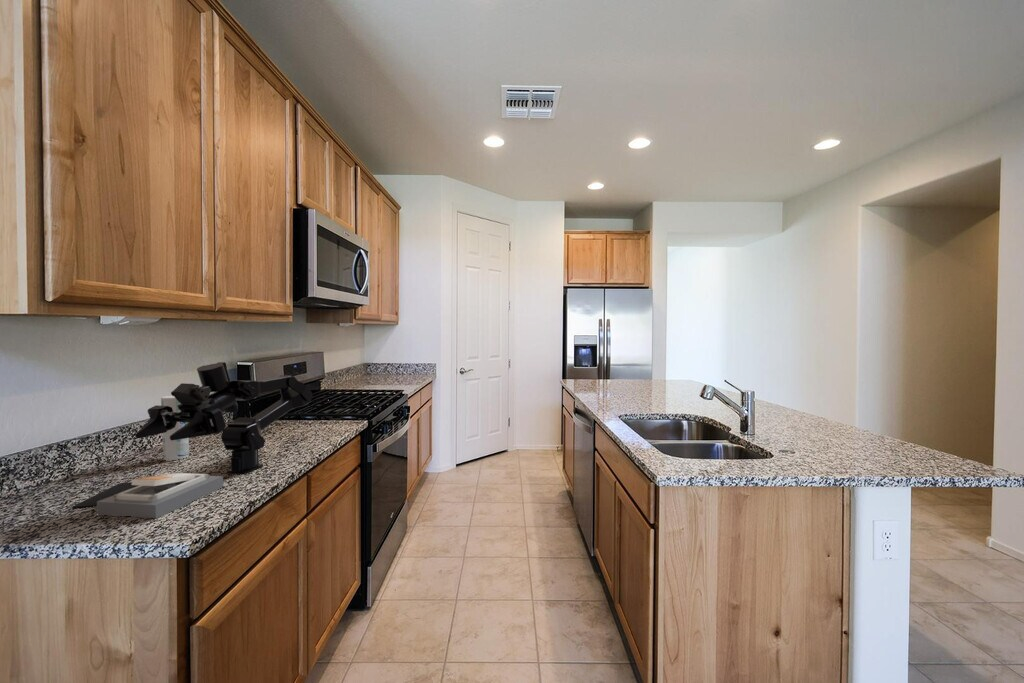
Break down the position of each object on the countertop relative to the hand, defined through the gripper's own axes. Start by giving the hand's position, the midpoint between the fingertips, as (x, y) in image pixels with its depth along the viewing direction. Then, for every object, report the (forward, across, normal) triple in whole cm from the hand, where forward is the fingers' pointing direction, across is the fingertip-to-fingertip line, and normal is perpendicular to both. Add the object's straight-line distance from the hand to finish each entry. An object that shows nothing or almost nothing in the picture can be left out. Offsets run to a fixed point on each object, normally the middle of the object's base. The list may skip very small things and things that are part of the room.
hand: (153, 437), depth 90 cm
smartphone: (0, -18, +18) cm, 26 cm away
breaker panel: (+1, -2, +17) cm, 17 cm away
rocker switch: (0, -2, +13) cm, 13 cm away
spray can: (-26, -31, +26) cm, 48 cm away
